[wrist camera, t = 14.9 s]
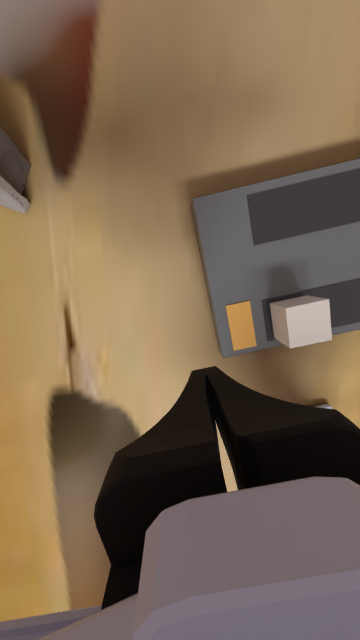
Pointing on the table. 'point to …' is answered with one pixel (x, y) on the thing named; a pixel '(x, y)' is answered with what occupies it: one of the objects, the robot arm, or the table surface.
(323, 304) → the tab
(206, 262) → the switch board
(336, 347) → the table surface
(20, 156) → the electrical switch
